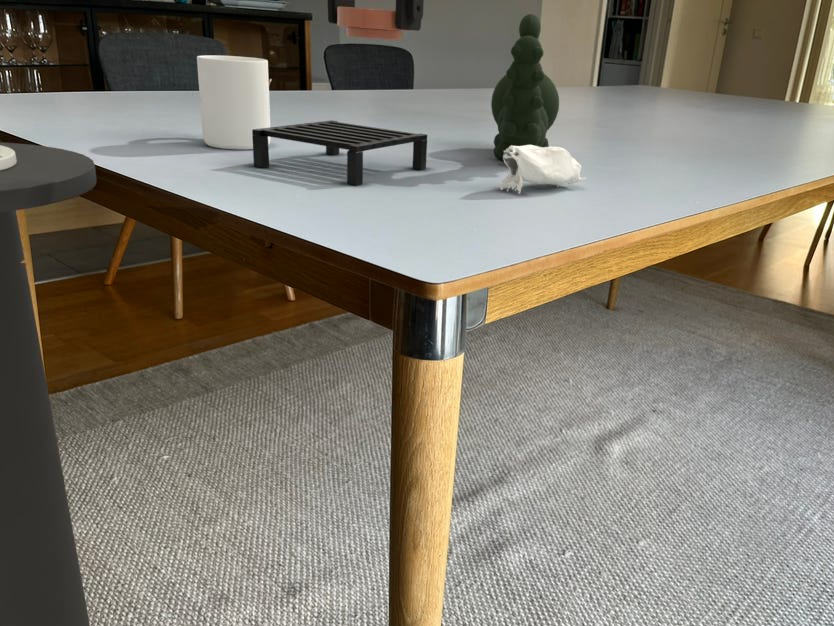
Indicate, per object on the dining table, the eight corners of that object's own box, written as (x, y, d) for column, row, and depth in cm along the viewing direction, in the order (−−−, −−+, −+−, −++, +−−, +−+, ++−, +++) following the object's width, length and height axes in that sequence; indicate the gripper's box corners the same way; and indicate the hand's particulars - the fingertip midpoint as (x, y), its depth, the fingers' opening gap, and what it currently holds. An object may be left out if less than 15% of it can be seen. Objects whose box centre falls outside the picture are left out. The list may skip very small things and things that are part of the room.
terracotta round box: (382, 39, 67) (383, 9, 66) (321, 33, 69) (321, 4, 68) (425, 41, 72) (426, 13, 71) (366, 35, 75) (366, 8, 74)
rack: (356, 185, 80) (356, 146, 78) (253, 166, 85) (251, 129, 84) (426, 168, 91) (427, 134, 90) (331, 152, 97) (331, 120, 95)
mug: (181, 136, 100) (174, 52, 96) (241, 134, 105) (237, 54, 101) (219, 151, 92) (213, 60, 88) (282, 148, 97) (279, 61, 93)
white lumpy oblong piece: (538, 210, 81) (592, 178, 87) (524, 147, 78) (581, 118, 84) (504, 209, 84) (558, 179, 90) (489, 148, 81) (546, 121, 87)
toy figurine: (553, 187, 95) (553, 141, 116) (572, 21, 85) (568, 4, 107) (478, 181, 95) (492, 136, 117) (488, 15, 86) (501, -1, 108)
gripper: (266, -216, 64) (273, 18, 71) (443, -229, 56) (432, 33, 64) (324, -192, 70) (326, 21, 77) (491, -201, 63) (476, 35, 70)
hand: (374, 25), depth 70 cm, fingers closed on terracotta round box, 6 cm apart
